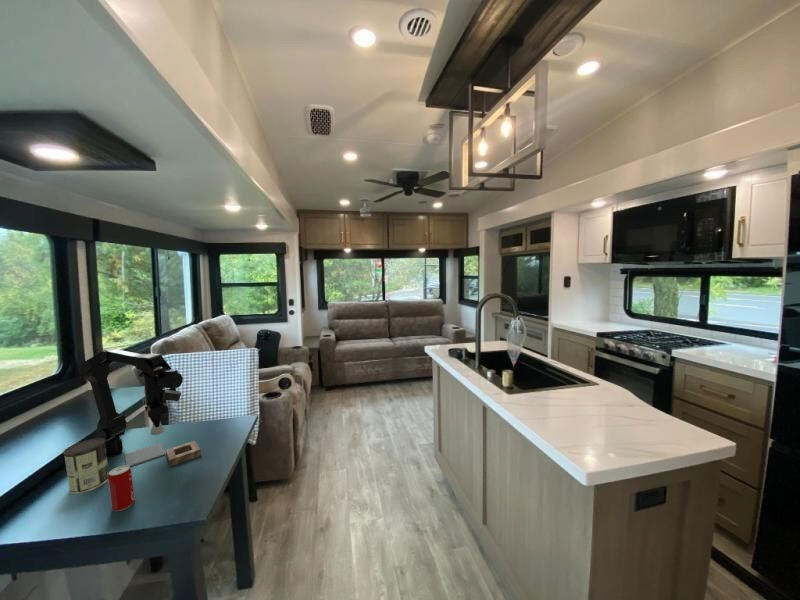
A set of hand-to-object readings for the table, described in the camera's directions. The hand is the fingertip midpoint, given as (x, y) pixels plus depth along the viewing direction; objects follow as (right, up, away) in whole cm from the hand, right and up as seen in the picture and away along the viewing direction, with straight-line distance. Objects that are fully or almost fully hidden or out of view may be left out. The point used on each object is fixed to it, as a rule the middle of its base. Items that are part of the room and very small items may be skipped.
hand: (156, 425), depth 129 cm
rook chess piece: (0, -3, 0) cm, 3 cm away
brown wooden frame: (+10, -12, 0) cm, 16 cm away
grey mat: (-6, -13, +2) cm, 14 cm away
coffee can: (-11, -15, -16) cm, 24 cm away
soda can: (+10, -15, -27) cm, 32 cm away
